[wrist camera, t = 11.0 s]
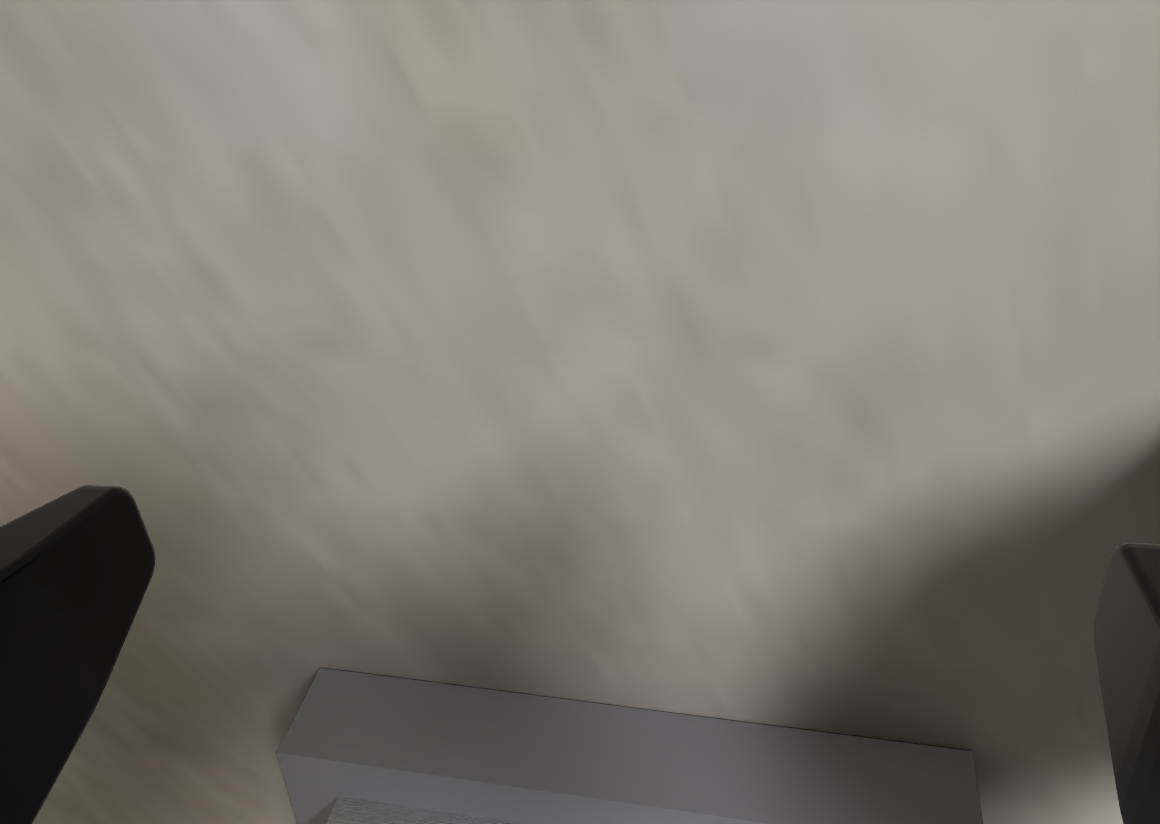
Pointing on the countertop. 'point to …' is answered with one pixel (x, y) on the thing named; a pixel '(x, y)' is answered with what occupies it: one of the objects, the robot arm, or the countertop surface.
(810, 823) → the base
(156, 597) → the countertop surface
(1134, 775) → the robot arm
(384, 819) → the scale pan
